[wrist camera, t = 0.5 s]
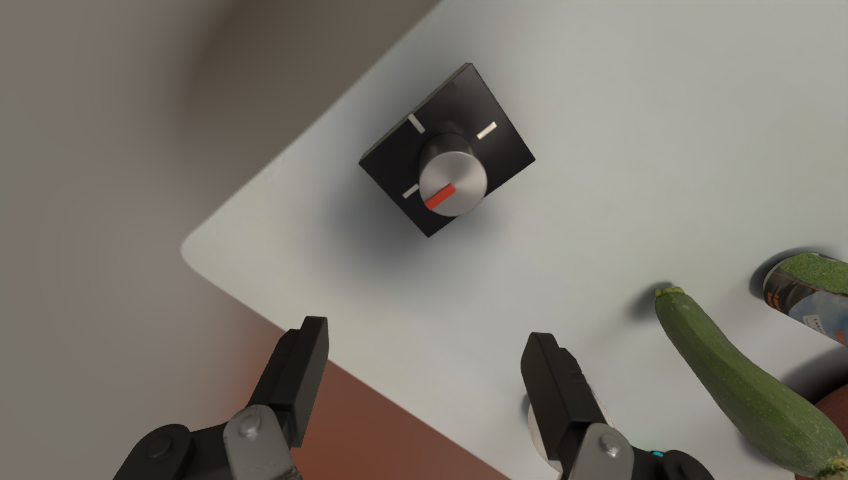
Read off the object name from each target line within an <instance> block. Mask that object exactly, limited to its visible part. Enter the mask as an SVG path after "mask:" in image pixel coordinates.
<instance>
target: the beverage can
mask: <svg viewBox="0 0 848 480" xmlns="http://www.w3.org/2000/svg"><path fill="white" fill-rule="evenodd" d="M763 290H764V292H763V295H764V300H765V302H766V303H767V304H768V305H769V306H770V307H772V308H774V309H776V310H778V311H780V312H782V313H784V314H786V315H787V316H789V317H791V318H793V319H795V320H797V321H799V322H801V323H803V324H805V325H807V326H808V327H810V328H812V329H814V330H816V331H818V332H820V333H822V334H824V335H826V336H828V337H829V338H831V339H833V340H835V341H837V342H839V343H841V344H843V345H845V346H847V347H848V263H845V262H842V261H839V260H836V259H833V258H830V257H827V256H824V255H822V254H819V253H815V252H805V253H801V254H798V255H795V256H793V257H789V258H787V259H785V260H783V261H781V262H779V263H778V264H777V265H776V266H774V267H773V268H772V269H771V271H770V272H769V273H768V275H767V276H766V278H765V280H764V284H763Z"/></svg>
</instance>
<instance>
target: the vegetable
mask: <svg viewBox="0 0 848 480" xmlns="http://www.w3.org/2000/svg"><path fill="white" fill-rule="evenodd" d="M655 297H656V300H655V311H656V314H657V317H658V319H659V321H660V323H661V325H662V327H663V329H664V331H665V333H666V334H667V336H668V337H669V339H670V340H671V342H672V343H673V345H674V346H675V347H676V349H677V350H678V351H679V353H680V354H681V355H682V357H683V358H684V359H685V361H686V362H687V363H688V365H689V366H690V367H691V369H692V370H693V372H694V373H695V374H696V376H697V377H698V378H699V380H700V381H701V382H702V384H703V385H704V386H705V388H706V389H707V390H708V392H709V393H710V394H711V396H712V397H713V399H714V400H715V402H716V403H717V404H718V406H719V407H720V408H721V410H722V411H723V412H724V413H725V414H726V415H727V417H728V418H729V419H730V420H731V421H732V423H733V424H734V425H735V426H736V427H737V428H738V429H739V431H740V432H741V433H742V434H743V435H744V436H745V437H746V438H747V439H748V440H749V441H750V442H751V443H752V444H753V445H754V446H755V447H756V448H757V449H758V450H759V451H760V452H761V453H763V454H764V455H765V456H766V457H768V458H769V459H770V460H772V461H773V462H774V463H776V464H777V465H779V466H781V467H783V468H784V469H787V470H789V471H791V472H794V473H796V474H799V475H801V476H806V477H811V478H814V479H816V480H848V468H847V466H848V445H847V442H846V439H845V437H844V436H843V434H842V433H841V431H840V430H839V429H838V428H837V426H836V425H835V424H834V423H833V422H832V421H831V420H830V419H829V418H828V417H827V416H826V415H825V414H824V413H822V412H821V411H820V410H819V409H817V408H816V407H815V406H814V405H812V404H811V403H810V402H808V401H807V400H806V399H804V398H803V397H802V396H800V395H799V394H797V393H795V392H794V391H793V390H791V389H790V388H788V387H787V386H785V385H784V384H782V383H781V382H779V381H778V380H777V379H775V378H774V377H772V376H771V375H770V374H768V373H767V372H765V371H764V370H762V369H761V368H759V367H758V366H757V365H755V364H754V363H752V362H751V361H750V360H749V359H748V358H747V357H745V356H744V355H743V354H742V353H741V352H740V351H739V350H738V349H737V348H736V347H735V346H734V345H733V344H732V343H731V342H730V341H729V340H728V339H727V338H726V336H725V335H724V334H723V332H722V331H721V330H720V329H719V327H718V326H717V325H716V324H715V323H714V322H713V321H712V319H711V318H710V317H709V316H708V315H707V314H706V313H705V312H704V311H703V310H702V308H701V307H700V306H699V305H698V304H697V303H696V302H695V301H694V300H693V299H692V298H691V297H690V296H688V295H686V294H684V291H683V290H682V289H681V288H680V287H675V288H672V287H669V288H668V289H667V288H664V289H656V290H655Z"/></svg>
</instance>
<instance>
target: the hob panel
mask: <svg viewBox="0 0 848 480" xmlns="http://www.w3.org/2000/svg"><path fill="white" fill-rule="evenodd" d="M446 133H451V134H456V135H459V136H461V137H463V138H464V139H466V140H467V141H468V142H469V143H470V145H471V146H472V148H473V150H474V151H475V153H476V155H477V157H478V158H479V160H480V162H481V164H482V165H483V167H484V169H485V171H486V175H487V189H486V193H485V195H484V197H486V196H487V195H488V194H490V193H491V192H492V191H494V190H495V189H497V188H498V187H499V186H501V185H502V184H503V183H505V182H506V181H508V180H509V179H510V178H512V177H513V176H515V175H516V174H517V173H519V172H520V171H521V170H523V169H524V168H526V167H527V166H528V165H530V164H531V163H532V162H534V161H535V158H534V156H533V155H532V153H531V152H530V150H529V149H528V147H527V146H526V144H525V143H524V141H523V140H522V138H521V137H520V135H519V134H518V132H517V131H516V129H515V128H514V126H513V125H512V123H511V121H510V120H509V118H508V117H507V115H506V114H505V112H504V111H503V109H502V108H501V106H500V105H499V103H498V102H497V100H496V99H495V97H494V96H493V94H492V93H491V91H490V90H489V88H488V87H487V85H486V84H485V82H484V81H483V79H482V78H481V76H480V75H479V73H478V72H477V70H476V69H475V67H474V66H473V64H472V63H465V64H464V65H463V66H462V67H461V68H459V69H458V70H457V71H456V72H455V73H454V74H453V75H452V76H451V77H449V78H448V79H447V80H446V81H445V82H444V83H443V84H442V85H440V86H439V87H438V88H437V89H436V90H435V91H434V92H433V93H431V94H430V95H429V96H428V97H427V98H426V99H425V100H424V101H422V102H421V103H420V104H419V105H418V106H417V107H416V108H415V109H413V110H412V111H411V112H410V113H409V114H408V115H407V116H406V117H404V118H403V119H402V120H401V121H400V122H399V123H398V124H397V125H395V126H394V127H393V128H392V129H391V130H390V131H389V132H388V133H386V134H385V135H384V136H383V137H382V138H381V139H380V140H379V141H378V142H376V143H375V144H374V145H373V146H372V147H371V148H370V149H369V150H367V151H366V152H365V153H364V154H363V156H362V157H361V159H360V161H359V165H360V166H361V167H362V168H363V169H364V170H365V171H366V172H367V173H368V174H369V175H370V176H371V177H372V178H373V180H374V181H375V182H376V183H377V184H378V185H379V186H380V187H381V188H382V189H383V190H384V191H385V192H386V193H387V195H388V196H389V197H390V198H391V199H392V200H393V201H394V202H395V203H396V204H397V205H398V206H399V207H400V208H401V209H402V211H403V212H404V213H405V214H406V215H407V216H408V217H409V218H410V219H411V220H412V221H413V222H414V223H415V224H416V226H417V227H418V228H419V229H420V230H421V231H422V232H423V233H424V234H425V235H426V236H427V237H428V238H429V237H430V236H432V235H433V234H434V233H436V232H437V231H439V230H440V229H441V228H443V227H444V226H445V225H447V224H448V223H450V222H451V221H452V220H454V219H455V218H456V217H458V216H444V215H440V214H438V213H436V212H434V211H432V210H429V209H428V208H427V206H426V205H425V203H424V201H423V199H422V197H421V195H420V191H419V158H420V154H421V151H422V149H423V147H424V146H425V144H426V143H427V142H428V141H429V140H431V139H432V138H433V137H435V136H438V135H440V134H446ZM484 197H483V198H484ZM481 202H482V201H481ZM481 202H480V203H481ZM480 203H479V204H480Z"/></svg>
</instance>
